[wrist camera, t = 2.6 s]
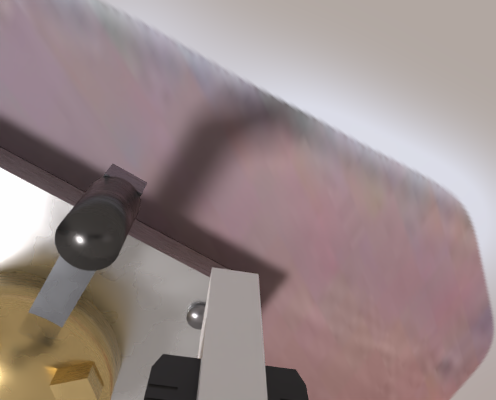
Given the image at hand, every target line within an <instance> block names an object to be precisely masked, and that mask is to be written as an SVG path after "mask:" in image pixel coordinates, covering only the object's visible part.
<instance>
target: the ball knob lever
mask: <svg viewBox="0 0 496 400" xmlns="http://www.w3.org/2000/svg"><path fill="white" fill-rule="evenodd" d="M146 184H147V182H145V181H143V180H141V179H140V178H138V177H136V176H134V175H132V174H131V173H129V172H127V171H125V170H123V169H122V168H120V167H118V166H116V165H114V164H112V165H111V166H110V168H109V169H108V170H107V172H106V173H105V175H104V176H103V177H102V178H100V179H98V180H96V181H95V182H93V183H92V185H91V186H90V187H89V188H88V189H87V191H86V192H85V193H84V194H83V196H82V197H81V198H80V199H79V201H78V202H77V203H76V204H75V206H74V207H73V208H72V209H71V210H70V212H69V213H68V214H67V215H66V217H65V218H64V219H63V220H62V222H61V223H60V224H59V226H58V227H57V229H56V232H55V245H56V248H57V251H58V253H59V254H60V256H59V258H58V259H57V261H56V263H55V265H54V267H53V268H52V270H51V272H50V274H49V276H48V277H47V279H46V278H43V277H39V276H33V275H28V274H16V273H8V274H0V400H111V397H112V394H113V390H114V387H115V384H116V381H117V378H118V374H119V370H120V364H121V354H120V347H119V343H118V340H117V337H116V334H115V332H114V330H113V328H112V326H111V325H110V323H109V322H108V320H107V319H106V317H105V316H104V315H103V314H102V313H101V311H100V310H99V309H98V308H97V307H96V306H95V305H94V304H92V303H91V302H90V301H89V300H88V299H86V298H85V297H84V296H82V293H83V292H84V290H85V288H86V287H87V285H88V283H89V282H90V280H91V278H92V277H93V275H94V273H95V272H96V270H101V269H104V268H106V267H108V266H110V265H111V264H112V263H113V262H114V261H115V260H116V259H117V257H118V255H119V253H120V251H121V249H122V247H123V244H124V242H125V240H126V238H127V236H128V234H129V231H130V229H131V227H132V225H133V223H134V221H135V219H136V216H137V214H138V212H139V209H140V196H141V194H142V192H143V190H144V188H145V186H146Z"/></svg>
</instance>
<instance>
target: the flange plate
mask: <svg viewBox="0 0 496 400" xmlns="http://www.w3.org/2000/svg"><path fill="white" fill-rule="evenodd" d="M84 193H85V192H83V191H81V190H80V189H78V188H76V187H74V186H72V185H70V184H68V183H66V182H65V181H63V180H61V179H59V178H57V177H55V176H53V175H51V174H50V173H48V172H46V171H44V170H42V169H40V168H38V167H36V166H35V165H33V164H31V163H29V162H27V161H25V160H23V159H22V158H20V157H18V156H16V155H14V154H12V153H10V152H8V151H7V150H5V149H3V148H1V147H0V274H8V273H16V274H28V275H33V276H39V277H43V278H46V279H47V277H48V276H49V274H50V272H51V270H52V268H53V267H54V265H55V263H56V261H57V259H58V258H59V256H60V254H59V253H58V251H57V248H56V245H55V232H56V229H57V227H58V226H59V224H60V223H61V222H62V220H63V219H64V218H65V217H66V215H67V214H68V213H69V212H70V210H71V209H72V208H73V207H74V206H75V204H76V203H77V202H78V201H79V199H80V198H81V197H82V196H83V194H84ZM212 267H214V268H221V269H227V268H226V267H224V266H222V265H220V264H218V263H216V262H214V261H213V260H211V259H209V258H207V257H205V256H203V255H201V254H199V253H198V252H196V251H194V250H192V249H190V248H188V247H186V246H184V245H183V244H181V243H179V242H177V241H175V240H173V239H171V238H169V237H168V236H166V235H164V234H162V233H160V232H158V231H156V230H154V229H153V228H151V227H149V226H147V225H145V224H143V223H141V222H139V221H138V220H136V219H135V221H134V223H133V225H132V227H131V229H130V231H129V234H128V236H127V238H126V240H125V242H124V244H123V247H122V249H121V251H120V253H119V255H118V257H117V259H116V260H115V261H114V262H113V263H112V264H111V265H110V266H108V267H106V268H104V269H101V270H96V272H95V273H94V275H93V277H92V278H91V280H90V282H89V283H88V285H87V287H86V288H85V290H84V292H83V293H82V296H84V297H85V298H86V299H88V300H89V301H90V302H91V303H92V304H94V305H95V306H96V307H97V308H98V309H99V310H100V311H101V313H102V314H103V315H104V316H105V317H106V319H107V320H108V322H109V323H110V325H111V326H112V328H113V330H114V332H115V334H116V337H117V340H118V343H119V347H120V354H121V364H120V370H119V374H118V378H117V381H116V384H115V387H114V390H113V394H112V397H111V400H144V396H145V392H146V387H147V383H148V379H149V375H150V371H151V367H152V366H153V365H154V364H155V362H156V361H157V360H158V359H159V358H160V357H161V356H162V354H169V355H176V356H184V357H192V358H198V351H199V343H200V335H201V329H202V324H203V318H204V312H205V306H206V300H207V294H208V288H209V283H210V277H211V271H212ZM227 270H229V269H227Z"/></svg>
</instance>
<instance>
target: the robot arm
mask: <svg viewBox="0 0 496 400" xmlns="http://www.w3.org/2000/svg"><path fill="white" fill-rule="evenodd" d="M144 400H308V394H307V389H306V385H305V383H304V382H303V380H302V378H301V377H300V375H299V374H298V372H297V371H296V370H295V369H287V368H279V367H271V366H265V357H264V343H263V329H262V315H261V302H260V288H259V274H255V273H248V272H241V271H234V270H227V269H221V268H214V267H212V271H211V277H210V283H209V288H208V294H207V300H206V306H205V312H204V318H203V324H202V329H201V335H200V343H199V351H198V358H192V357H184V356H176V355H169V354H162V356H161V357H160V358H159V359H158V360H157V361H156V362H155V364H154V365H153V366H152V367H151V371H150V375H149V379H148V383H147V387H146V392H145V396H144Z"/></svg>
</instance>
